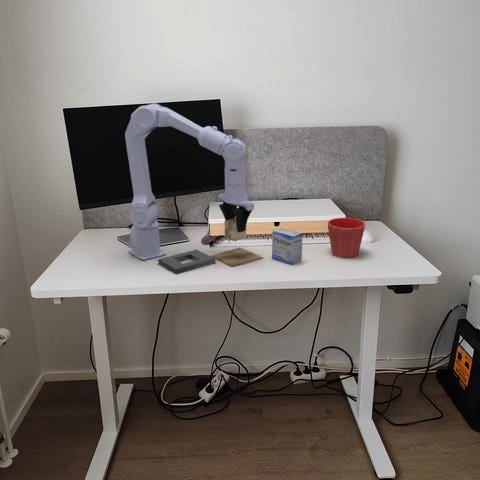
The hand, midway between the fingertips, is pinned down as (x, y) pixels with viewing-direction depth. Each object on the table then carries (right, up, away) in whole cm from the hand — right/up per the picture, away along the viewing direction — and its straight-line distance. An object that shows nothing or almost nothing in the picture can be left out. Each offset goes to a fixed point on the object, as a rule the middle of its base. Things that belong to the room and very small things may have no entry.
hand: (235, 229), depth 147 cm
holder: (-14, -10, -1) cm, 17 cm away
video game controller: (-8, -3, +19) cm, 20 cm away
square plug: (0, -2, +1) cm, 2 cm away
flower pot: (+32, -7, +5) cm, 34 cm away
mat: (0, -8, +3) cm, 9 cm away
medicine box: (+15, -9, 0) cm, 17 cm away
